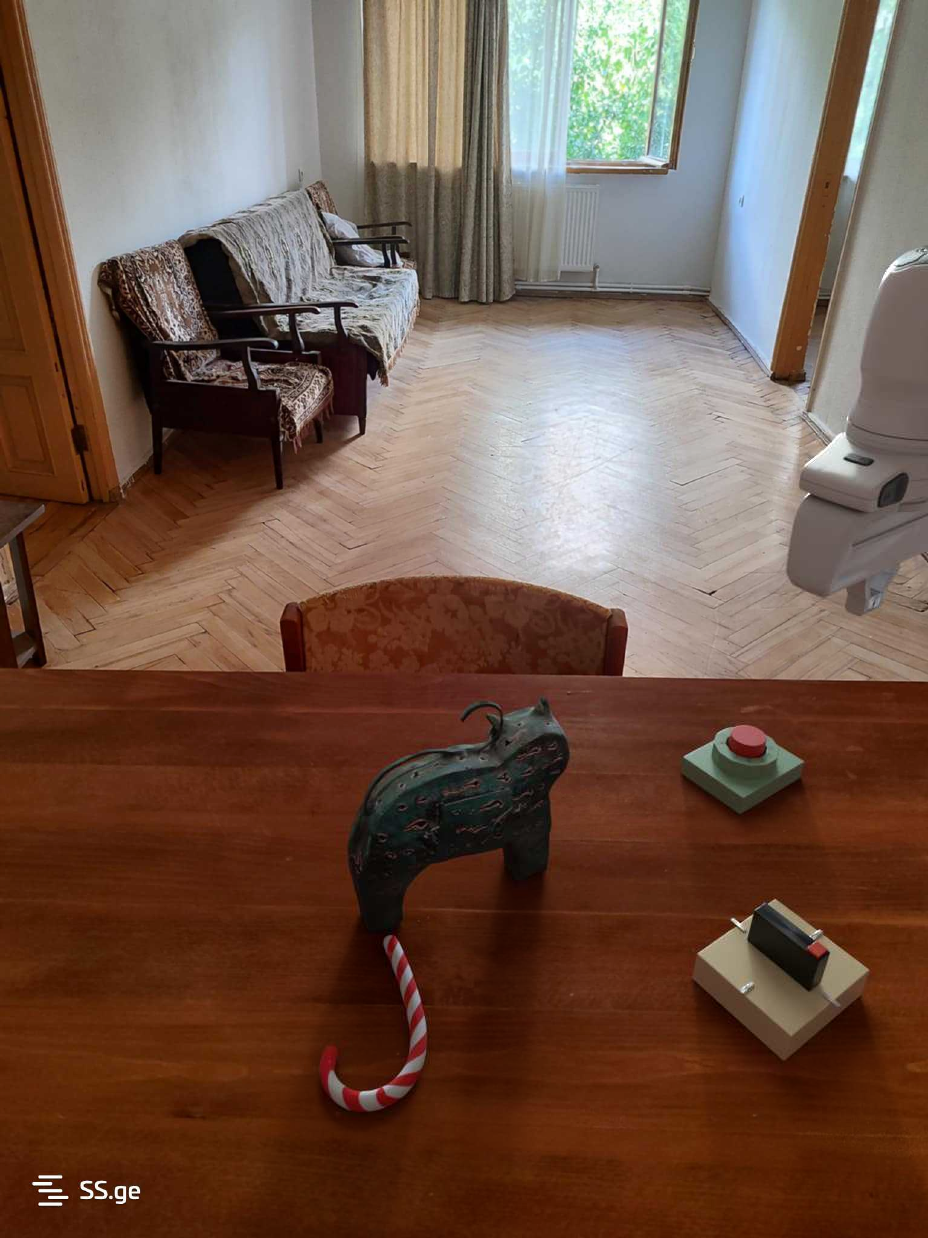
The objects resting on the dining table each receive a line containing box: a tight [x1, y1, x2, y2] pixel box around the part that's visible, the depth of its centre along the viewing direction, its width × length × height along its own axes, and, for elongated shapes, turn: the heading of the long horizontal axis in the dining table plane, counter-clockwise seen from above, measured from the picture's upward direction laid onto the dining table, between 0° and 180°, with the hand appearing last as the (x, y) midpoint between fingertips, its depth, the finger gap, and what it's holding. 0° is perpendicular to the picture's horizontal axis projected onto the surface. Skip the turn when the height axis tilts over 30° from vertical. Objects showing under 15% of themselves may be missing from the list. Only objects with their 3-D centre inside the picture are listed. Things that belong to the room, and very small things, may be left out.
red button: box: [728, 724, 767, 759], centre depth 93 cm, size 4×4×2 cm
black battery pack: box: [747, 902, 830, 992], centre depth 69 cm, size 6×2×4 cm, turn 35°
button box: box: [680, 726, 805, 815], centre depth 94 cm, size 10×8×4 cm
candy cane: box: [318, 934, 428, 1113], centre depth 68 cm, size 8×1×15 cm
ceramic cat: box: [347, 695, 571, 934], centre depth 75 cm, size 20×6×20 cm, turn 115°
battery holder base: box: [692, 898, 870, 1062], centre depth 71 cm, size 10×10×3 cm
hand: (862, 609), depth 78 cm, fingers closed
